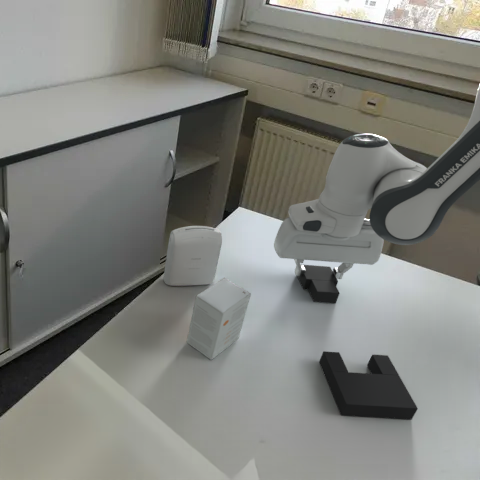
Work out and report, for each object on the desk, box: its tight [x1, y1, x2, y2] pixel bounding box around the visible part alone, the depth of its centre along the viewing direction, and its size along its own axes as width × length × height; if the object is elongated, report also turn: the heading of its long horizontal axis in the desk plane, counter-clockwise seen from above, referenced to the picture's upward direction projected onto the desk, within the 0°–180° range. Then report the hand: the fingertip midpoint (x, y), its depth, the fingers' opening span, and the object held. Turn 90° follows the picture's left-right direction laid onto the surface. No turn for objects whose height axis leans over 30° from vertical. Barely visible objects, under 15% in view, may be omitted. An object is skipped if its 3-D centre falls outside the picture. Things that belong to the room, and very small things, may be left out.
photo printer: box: [162, 225, 223, 287], centre depth 104 cm, size 10×4×12 cm, turn 99°
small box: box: [186, 277, 252, 361], centre depth 90 cm, size 8×6×10 cm
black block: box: [296, 263, 340, 304], centre depth 108 cm, size 9×6×3 cm
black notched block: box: [318, 350, 418, 421], centre depth 86 cm, size 11×11×3 cm
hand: (317, 275), depth 109 cm, fingers closed on black block, 6 cm apart
